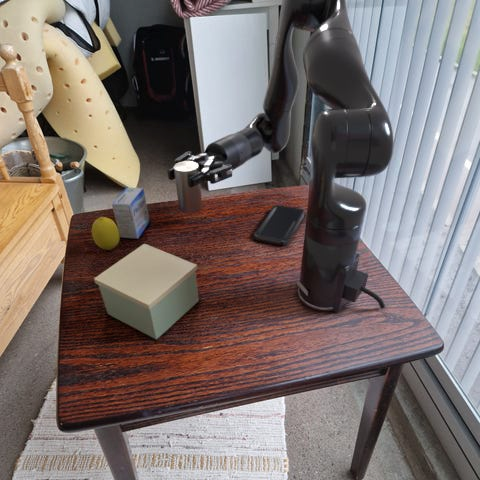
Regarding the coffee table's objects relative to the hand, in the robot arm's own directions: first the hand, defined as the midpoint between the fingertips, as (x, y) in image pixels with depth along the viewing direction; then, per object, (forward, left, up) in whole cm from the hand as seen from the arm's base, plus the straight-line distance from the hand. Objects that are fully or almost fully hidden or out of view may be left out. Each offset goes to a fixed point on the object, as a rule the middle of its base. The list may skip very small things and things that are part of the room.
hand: (179, 179), depth 91 cm
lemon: (+8, +16, -12) cm, 22 cm away
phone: (-19, -12, -12) cm, 25 cm away
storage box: (-13, +25, -12) cm, 31 cm away
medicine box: (+9, +7, -12) cm, 16 cm away
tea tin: (0, -3, -8) cm, 8 cm away
